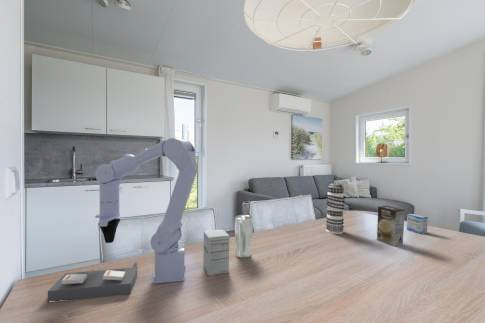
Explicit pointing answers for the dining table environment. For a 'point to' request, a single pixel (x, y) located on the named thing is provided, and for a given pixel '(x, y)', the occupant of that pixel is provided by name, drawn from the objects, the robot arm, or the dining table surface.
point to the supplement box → (216, 252)
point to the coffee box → (390, 225)
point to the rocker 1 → (74, 278)
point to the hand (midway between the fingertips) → (109, 242)
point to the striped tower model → (335, 208)
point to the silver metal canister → (243, 235)
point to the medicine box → (417, 223)
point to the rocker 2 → (114, 275)
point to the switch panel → (94, 285)
